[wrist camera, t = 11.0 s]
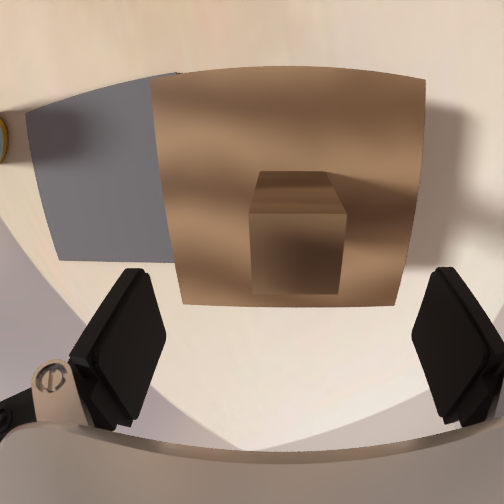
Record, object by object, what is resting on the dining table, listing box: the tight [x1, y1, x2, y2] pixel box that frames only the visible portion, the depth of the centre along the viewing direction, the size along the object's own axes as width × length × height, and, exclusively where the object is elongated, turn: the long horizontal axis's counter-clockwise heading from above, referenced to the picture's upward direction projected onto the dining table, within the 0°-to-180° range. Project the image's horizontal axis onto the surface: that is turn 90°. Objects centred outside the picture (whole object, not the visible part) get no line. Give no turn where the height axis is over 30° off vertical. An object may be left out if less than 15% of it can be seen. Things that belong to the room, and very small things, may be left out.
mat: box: [25, 72, 177, 263], centre depth 28 cm, size 19×19×1 cm
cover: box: [150, 66, 426, 307], centre depth 17 cm, size 17×17×8 cm
